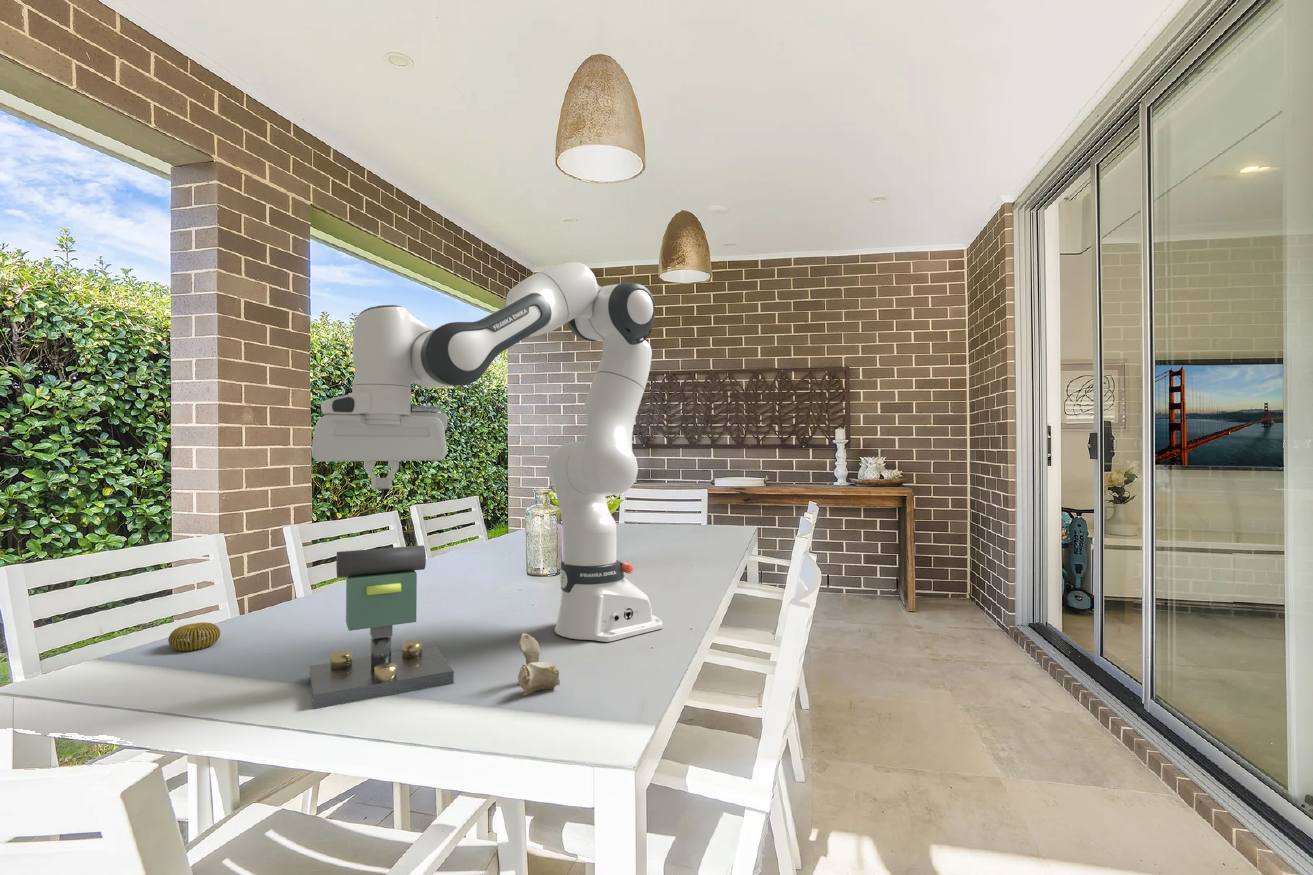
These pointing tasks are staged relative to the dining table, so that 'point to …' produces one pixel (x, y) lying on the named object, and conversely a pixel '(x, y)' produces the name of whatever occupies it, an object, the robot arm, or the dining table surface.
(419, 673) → the plate
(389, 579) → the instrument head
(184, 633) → the sculpture
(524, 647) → the bone
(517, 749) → the dining table surface
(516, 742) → the dining table surface
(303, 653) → the dining table surface
